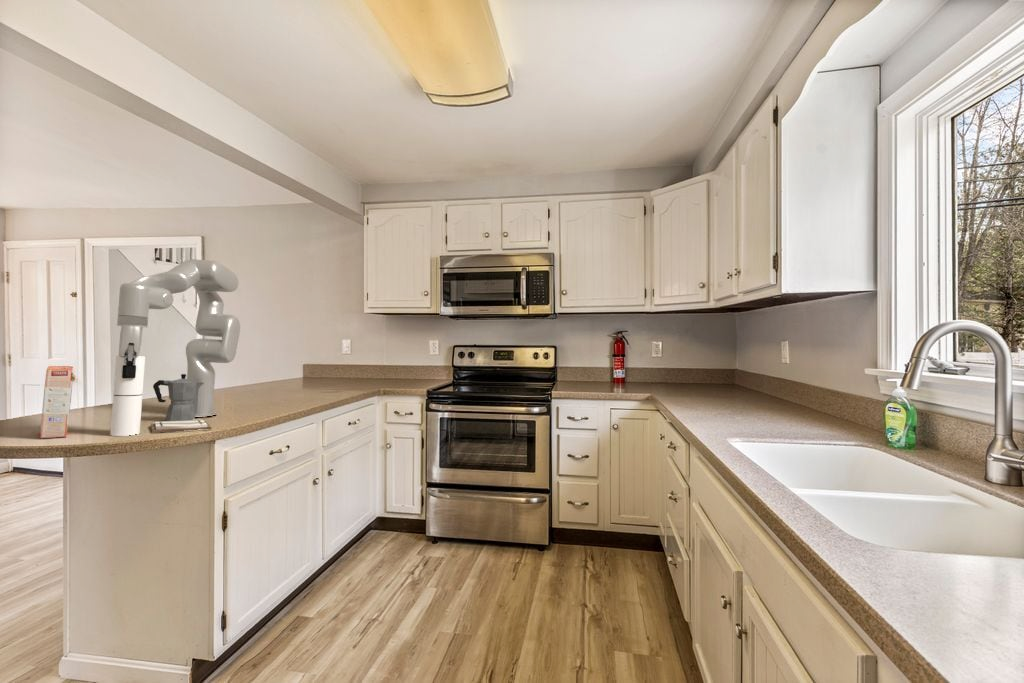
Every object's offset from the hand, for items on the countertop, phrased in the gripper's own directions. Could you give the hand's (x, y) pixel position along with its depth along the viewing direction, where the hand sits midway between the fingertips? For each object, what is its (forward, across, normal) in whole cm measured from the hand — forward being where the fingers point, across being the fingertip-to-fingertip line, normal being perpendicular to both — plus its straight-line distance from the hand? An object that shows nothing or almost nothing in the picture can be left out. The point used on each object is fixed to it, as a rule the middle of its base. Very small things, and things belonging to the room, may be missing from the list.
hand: (128, 376), depth 143 cm
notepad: (+18, -5, +15) cm, 24 cm away
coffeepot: (+18, -21, +15) cm, 32 cm away
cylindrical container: (+18, 0, 0) cm, 18 cm away
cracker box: (+19, -7, -16) cm, 25 cm away
